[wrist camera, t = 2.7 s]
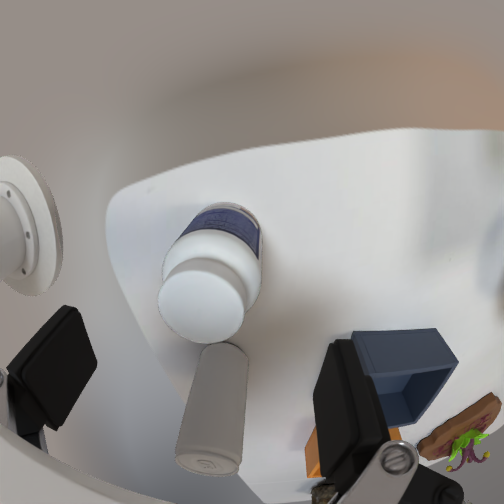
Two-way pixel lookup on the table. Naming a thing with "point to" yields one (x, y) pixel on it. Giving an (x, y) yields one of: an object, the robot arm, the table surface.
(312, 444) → the amber bin
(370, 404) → the robot arm
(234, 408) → the beverage can
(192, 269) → the pill bottle
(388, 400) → the slate bin
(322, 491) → the mineral specimen
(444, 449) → the plant
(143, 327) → the table surface
